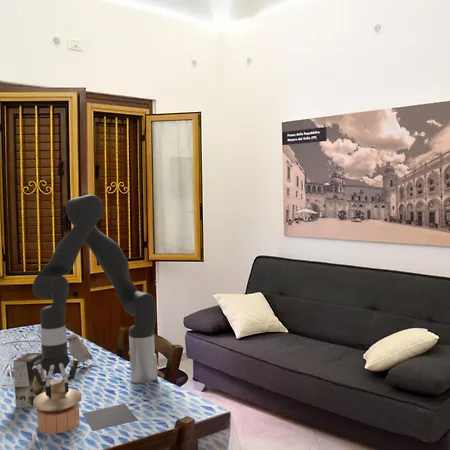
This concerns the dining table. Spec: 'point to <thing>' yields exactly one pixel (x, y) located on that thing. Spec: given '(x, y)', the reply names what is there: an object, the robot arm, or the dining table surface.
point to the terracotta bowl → (58, 419)
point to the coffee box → (27, 379)
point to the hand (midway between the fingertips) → (57, 395)
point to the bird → (78, 349)
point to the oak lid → (57, 397)
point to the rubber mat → (109, 417)
